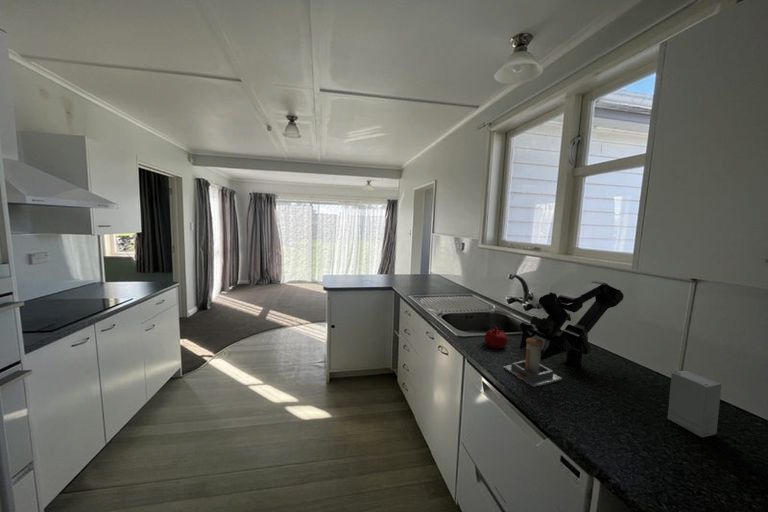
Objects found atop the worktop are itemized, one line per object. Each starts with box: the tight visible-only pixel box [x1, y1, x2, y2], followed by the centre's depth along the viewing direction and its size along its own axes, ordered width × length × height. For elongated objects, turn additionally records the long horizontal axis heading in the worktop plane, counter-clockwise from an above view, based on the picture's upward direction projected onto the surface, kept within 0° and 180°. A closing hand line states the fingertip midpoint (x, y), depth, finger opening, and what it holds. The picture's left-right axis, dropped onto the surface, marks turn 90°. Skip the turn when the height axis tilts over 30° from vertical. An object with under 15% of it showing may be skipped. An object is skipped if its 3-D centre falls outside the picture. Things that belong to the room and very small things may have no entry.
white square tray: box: [502, 359, 563, 388], centre depth 108 cm, size 14×14×3 cm
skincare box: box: [667, 370, 722, 438], centre depth 81 cm, size 8×6×15 cm
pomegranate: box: [484, 326, 509, 349], centre depth 131 cm, size 10×10×9 cm
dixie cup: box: [531, 324, 546, 351], centre depth 130 cm, size 8×8×10 cm
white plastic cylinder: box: [524, 338, 543, 374], centre depth 107 cm, size 6×5×12 cm
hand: (530, 353), depth 106 cm, fingers open, 9 cm apart
